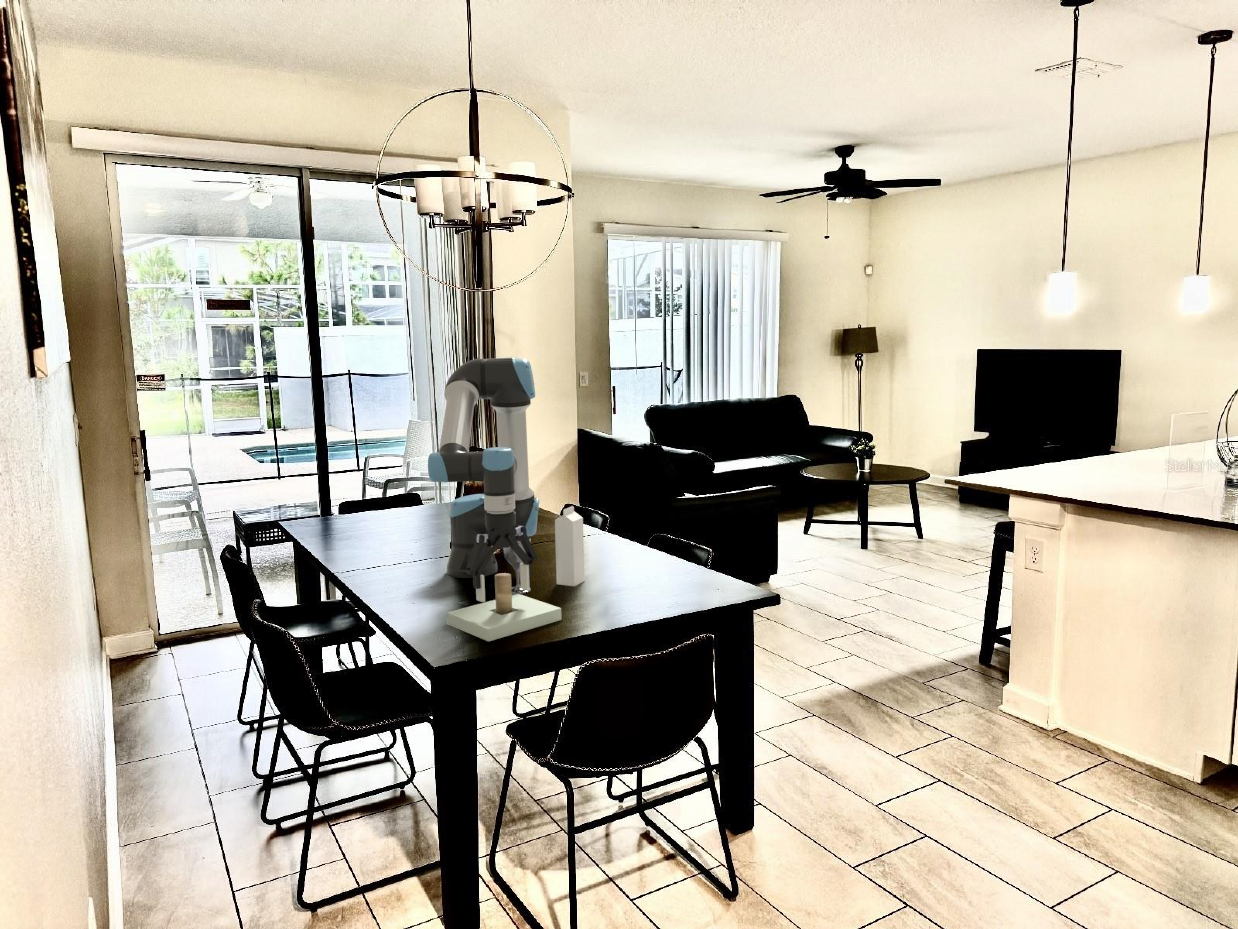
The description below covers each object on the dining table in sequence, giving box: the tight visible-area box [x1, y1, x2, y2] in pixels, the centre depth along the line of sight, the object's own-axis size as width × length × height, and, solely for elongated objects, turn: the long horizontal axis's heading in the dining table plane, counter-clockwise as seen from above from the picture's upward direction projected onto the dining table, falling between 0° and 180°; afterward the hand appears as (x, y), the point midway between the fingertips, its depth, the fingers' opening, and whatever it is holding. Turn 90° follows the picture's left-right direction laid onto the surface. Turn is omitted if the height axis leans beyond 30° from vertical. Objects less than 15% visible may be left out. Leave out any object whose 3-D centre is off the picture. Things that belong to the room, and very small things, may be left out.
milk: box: [554, 505, 585, 587], centre depth 251 cm, size 6×6×22 cm
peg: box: [494, 572, 513, 615], centre depth 218 cm, size 4×4×12 cm
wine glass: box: [502, 535, 532, 595], centre depth 245 cm, size 8×8×15 cm
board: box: [446, 594, 562, 642], centre depth 219 cm, size 18×22×3 cm
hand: (503, 595), depth 218 cm, fingers open, 13 cm apart
